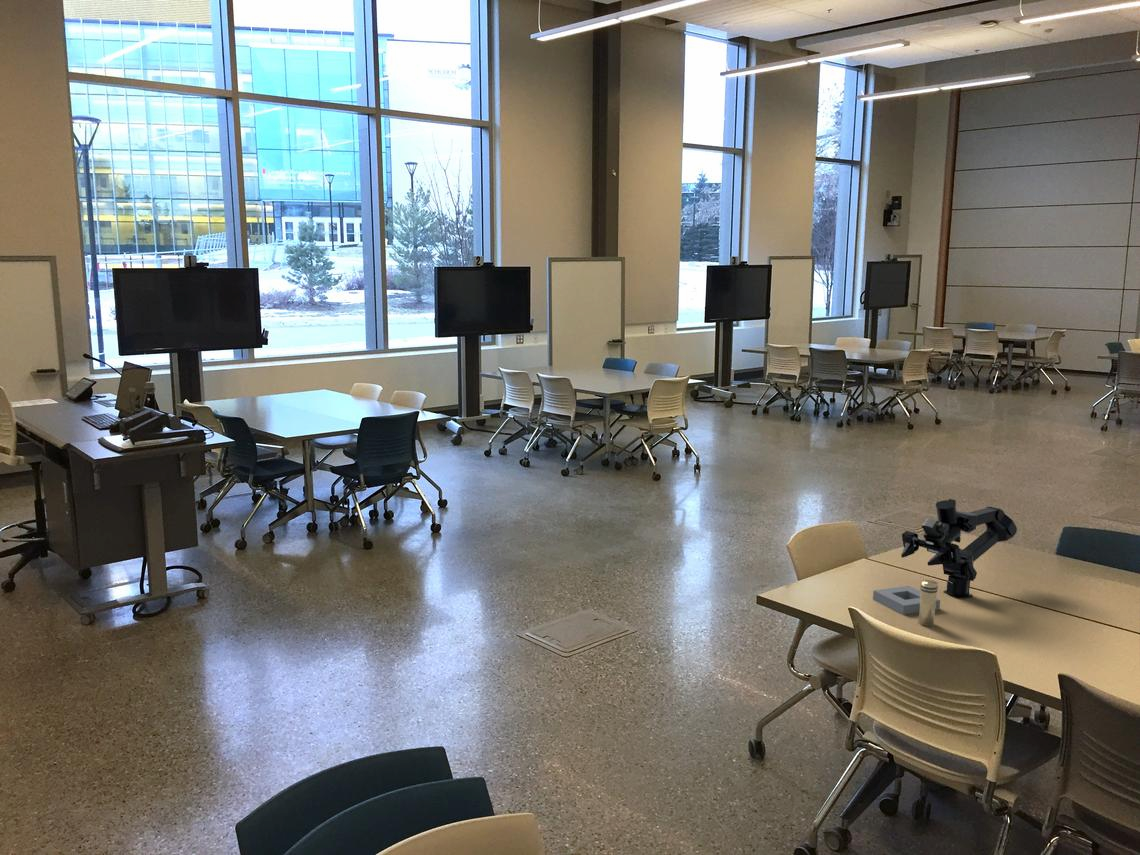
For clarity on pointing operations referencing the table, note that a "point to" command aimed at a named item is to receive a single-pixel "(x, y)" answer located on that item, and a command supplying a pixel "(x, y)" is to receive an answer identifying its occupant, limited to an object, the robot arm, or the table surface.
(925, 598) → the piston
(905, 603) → the grey square frame
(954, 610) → the table surface
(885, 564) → the table surface
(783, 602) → the table surface
